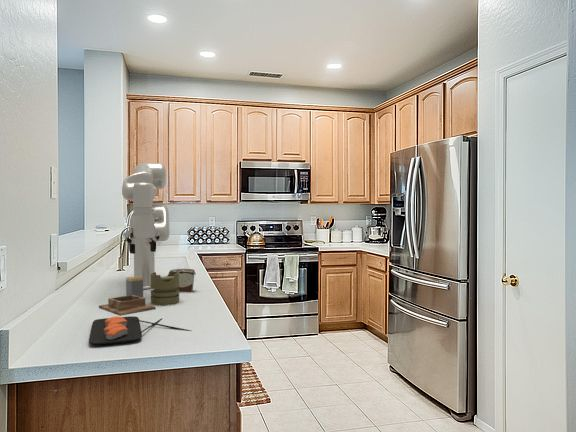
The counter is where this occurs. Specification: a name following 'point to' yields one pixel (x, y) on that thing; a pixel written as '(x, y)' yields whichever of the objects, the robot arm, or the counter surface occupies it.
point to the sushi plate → (119, 330)
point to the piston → (165, 289)
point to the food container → (185, 279)
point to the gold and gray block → (134, 286)
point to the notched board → (126, 305)
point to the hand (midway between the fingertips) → (142, 252)
